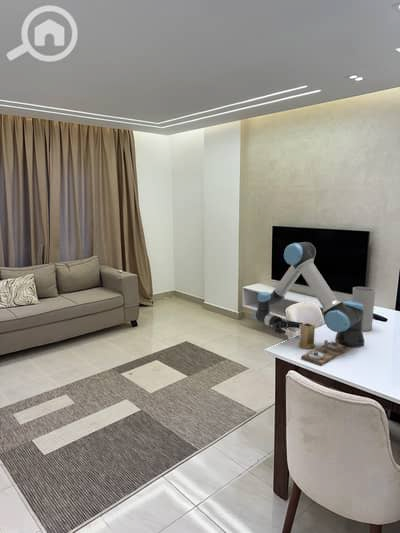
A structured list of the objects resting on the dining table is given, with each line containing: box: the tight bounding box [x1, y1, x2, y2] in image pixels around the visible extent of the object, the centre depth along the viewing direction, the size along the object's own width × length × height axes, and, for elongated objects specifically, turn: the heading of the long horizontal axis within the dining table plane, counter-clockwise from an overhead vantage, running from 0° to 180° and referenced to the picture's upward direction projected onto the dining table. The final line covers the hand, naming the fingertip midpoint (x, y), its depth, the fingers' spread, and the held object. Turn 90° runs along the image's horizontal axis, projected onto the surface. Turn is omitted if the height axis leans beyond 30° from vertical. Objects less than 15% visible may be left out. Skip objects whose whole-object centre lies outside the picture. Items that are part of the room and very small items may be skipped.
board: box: [300, 339, 349, 367], centre depth 190 cm, size 28×11×8 cm, turn 133°
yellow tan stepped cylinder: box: [297, 322, 316, 350], centre depth 200 cm, size 9×9×12 cm
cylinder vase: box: [351, 286, 376, 332], centre depth 229 cm, size 12×12×25 cm
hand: (299, 331), depth 205 cm, fingers open, 13 cm apart
